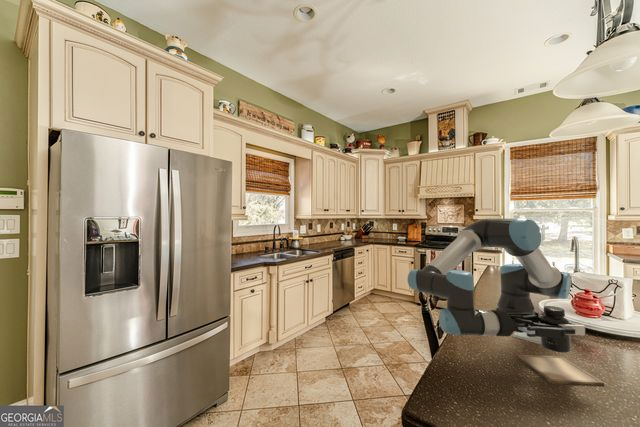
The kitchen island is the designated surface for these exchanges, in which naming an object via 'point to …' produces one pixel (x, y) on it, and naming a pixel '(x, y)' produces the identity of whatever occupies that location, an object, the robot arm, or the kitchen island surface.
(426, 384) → the kitchen island surface
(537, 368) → the cork mat
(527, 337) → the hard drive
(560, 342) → the supplement bottle
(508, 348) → the kitchen island surface
